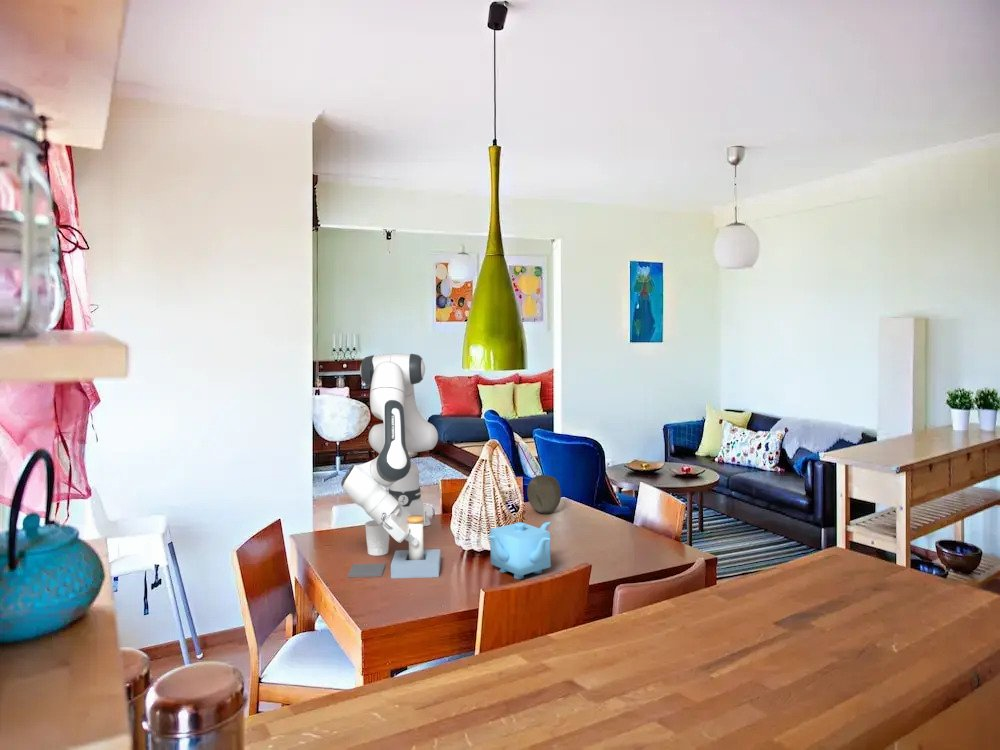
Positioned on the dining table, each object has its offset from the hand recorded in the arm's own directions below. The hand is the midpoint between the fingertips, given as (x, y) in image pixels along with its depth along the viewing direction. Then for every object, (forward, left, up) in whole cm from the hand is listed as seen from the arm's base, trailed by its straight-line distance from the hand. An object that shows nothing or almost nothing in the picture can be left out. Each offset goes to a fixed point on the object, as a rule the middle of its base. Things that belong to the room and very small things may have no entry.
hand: (418, 540), depth 211 cm
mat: (0, -16, -9) cm, 18 cm away
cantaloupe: (-64, +45, -9) cm, 79 cm away
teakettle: (+5, +31, -9) cm, 33 cm away
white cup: (-18, -15, -9) cm, 25 cm away
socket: (0, -1, -9) cm, 9 cm away
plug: (0, -1, -9) cm, 9 cm away
